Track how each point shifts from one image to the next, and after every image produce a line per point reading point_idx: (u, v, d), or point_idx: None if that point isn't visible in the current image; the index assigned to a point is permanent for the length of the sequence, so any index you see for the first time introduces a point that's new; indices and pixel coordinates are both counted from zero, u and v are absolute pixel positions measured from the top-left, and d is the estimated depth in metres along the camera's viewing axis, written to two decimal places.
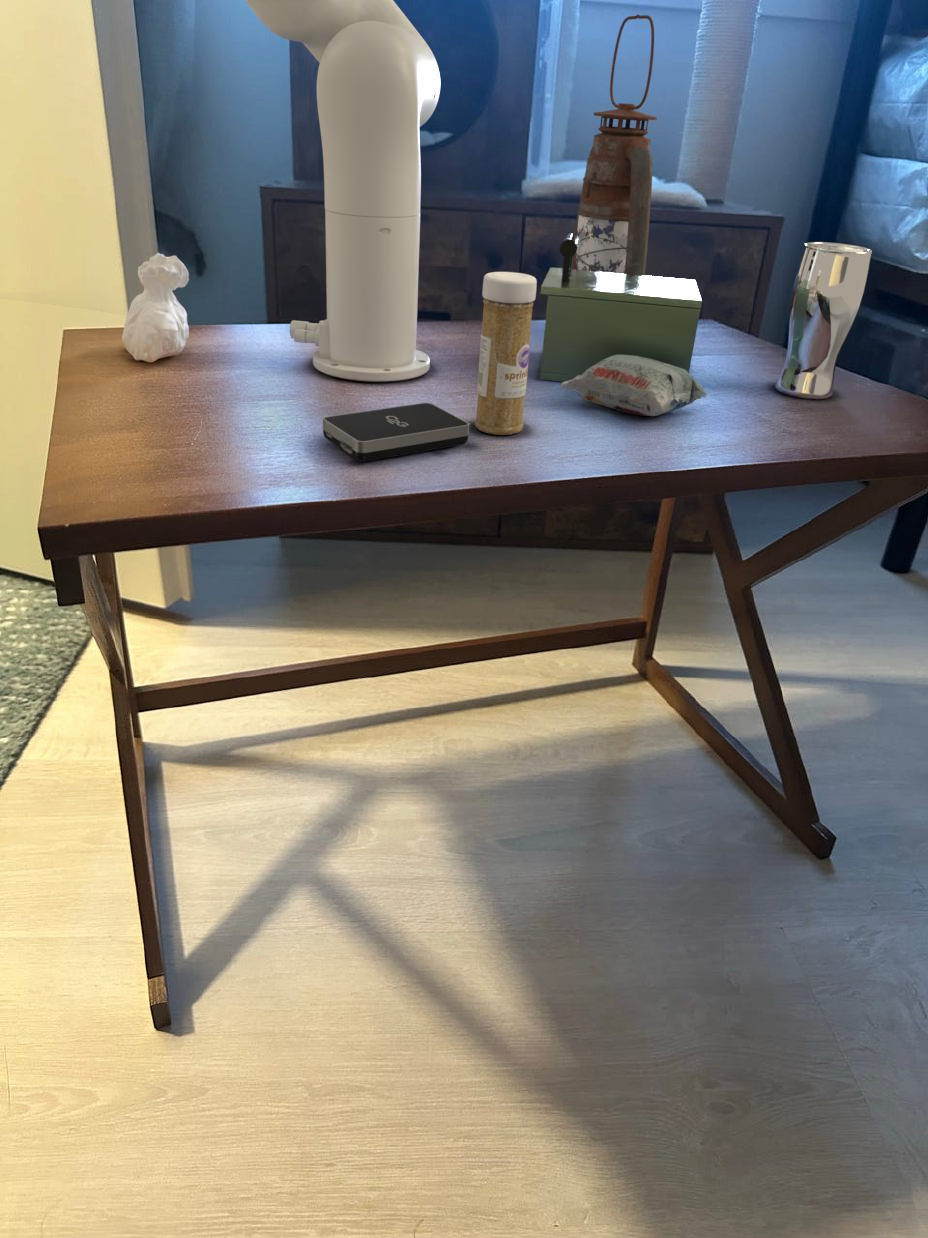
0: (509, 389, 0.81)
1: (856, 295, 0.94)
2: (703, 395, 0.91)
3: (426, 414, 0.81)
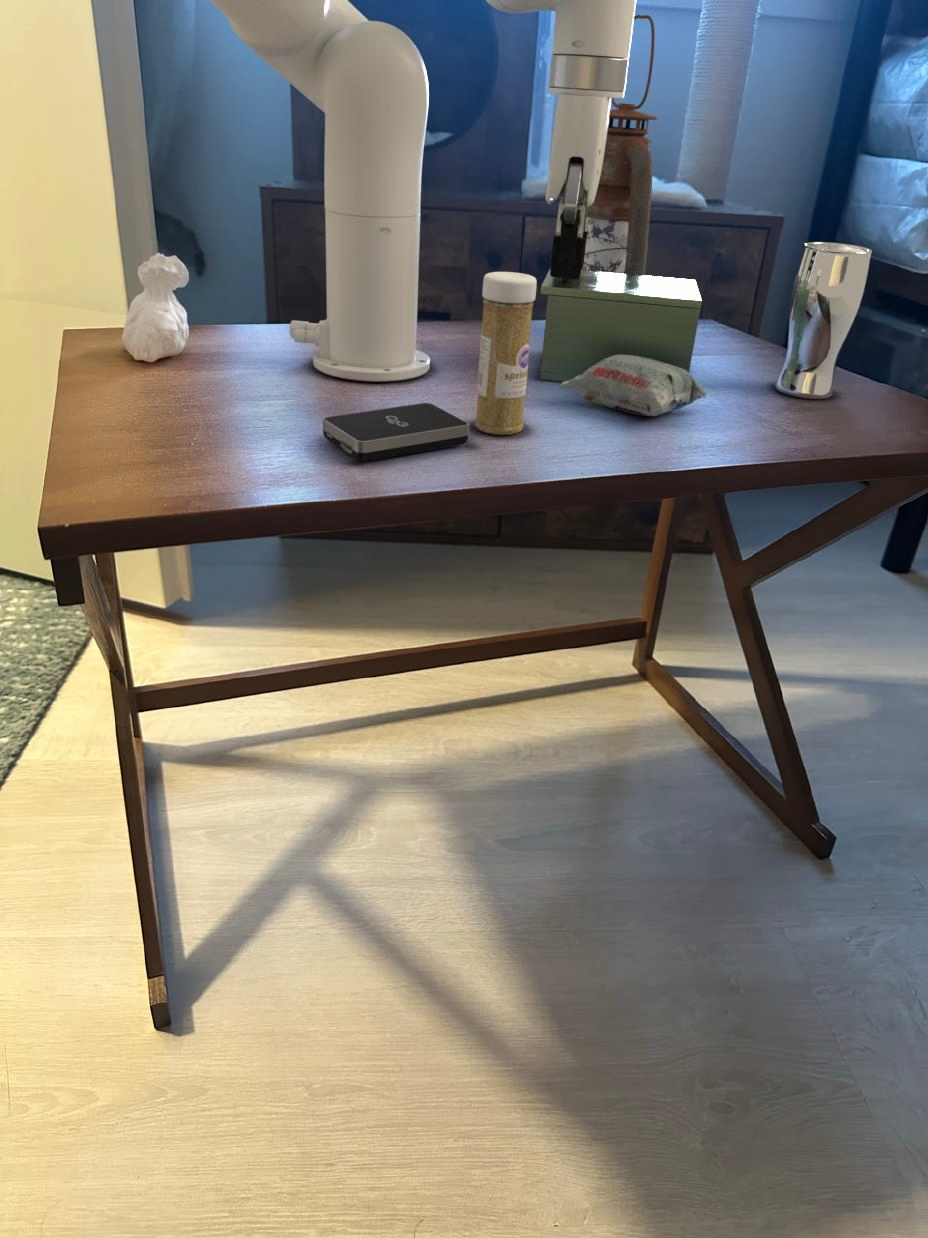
0: (509, 389, 0.81)
1: (856, 295, 0.94)
2: (703, 395, 0.91)
3: (426, 414, 0.81)
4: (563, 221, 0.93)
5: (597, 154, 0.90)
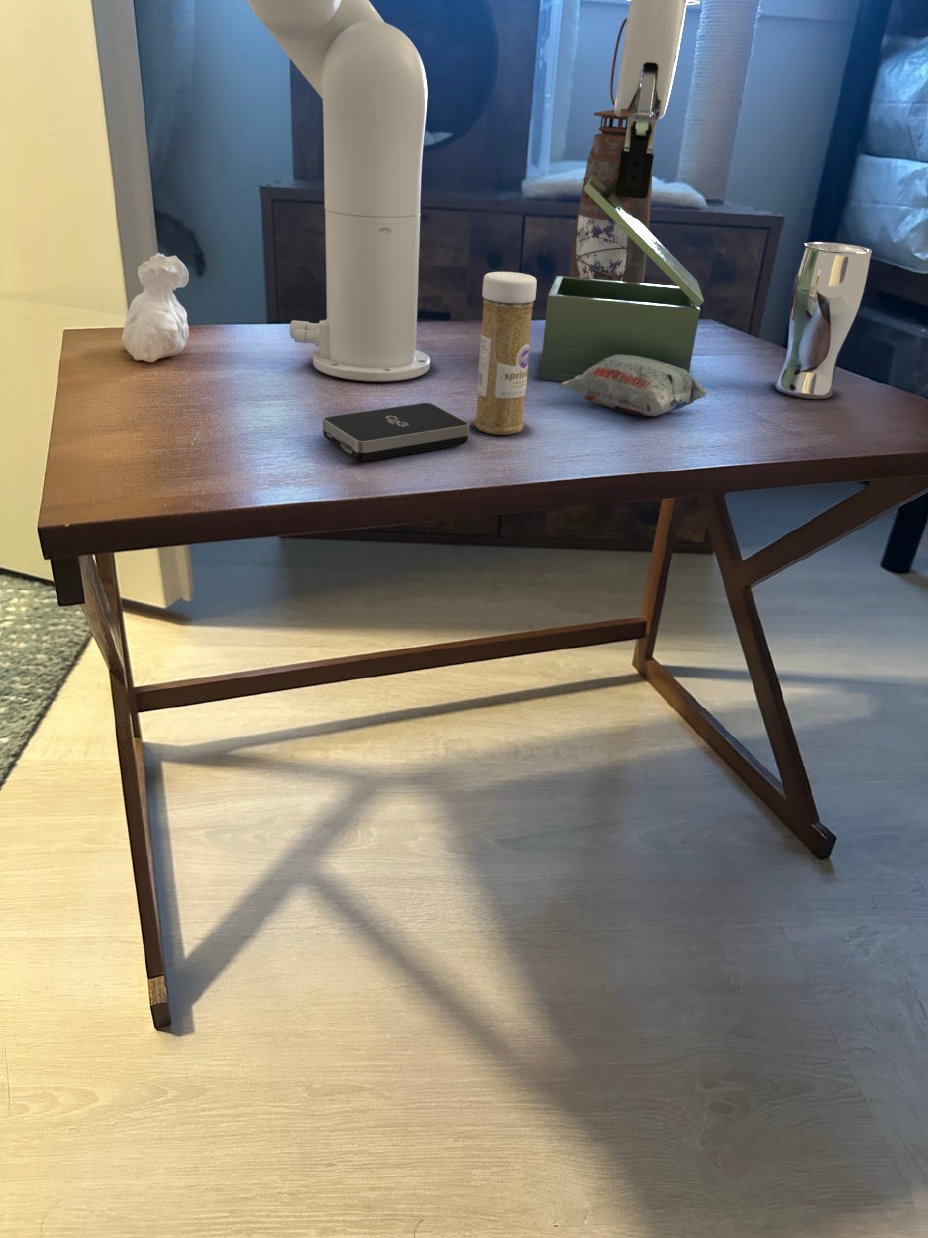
0: (509, 389, 0.81)
1: (856, 295, 0.94)
2: (703, 395, 0.91)
3: (426, 414, 0.81)
4: (634, 133, 0.88)
5: (672, 60, 0.85)
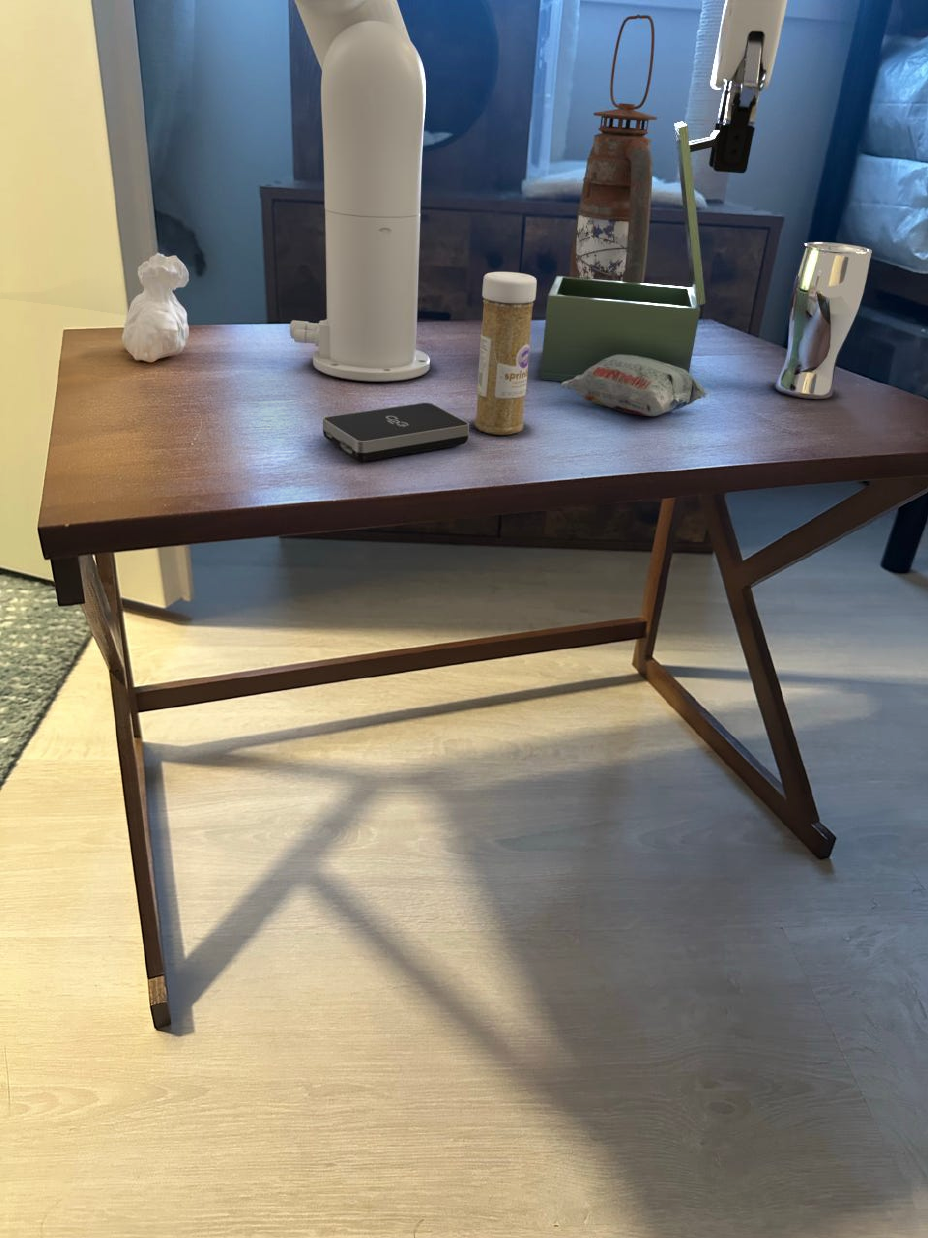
0: (509, 389, 0.81)
1: (856, 295, 0.94)
2: (703, 395, 0.91)
3: (426, 414, 0.81)
4: (737, 104, 0.85)
5: (779, 28, 0.83)
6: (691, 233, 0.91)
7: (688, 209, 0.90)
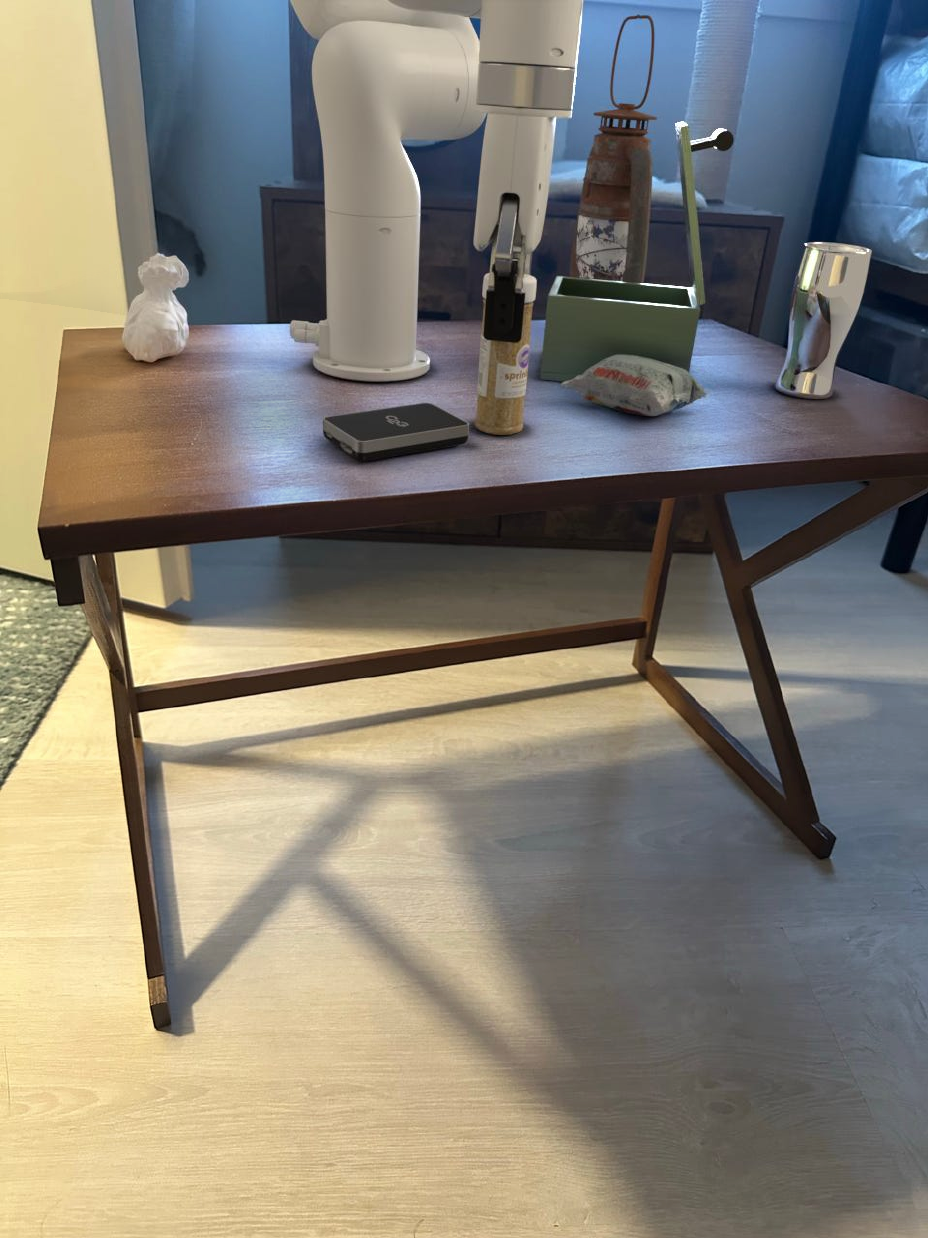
0: (509, 389, 0.81)
1: (856, 295, 0.94)
2: (703, 395, 0.91)
3: (426, 414, 0.81)
4: (496, 274, 0.73)
5: (536, 190, 0.71)
6: (691, 233, 0.91)
7: (689, 209, 0.90)
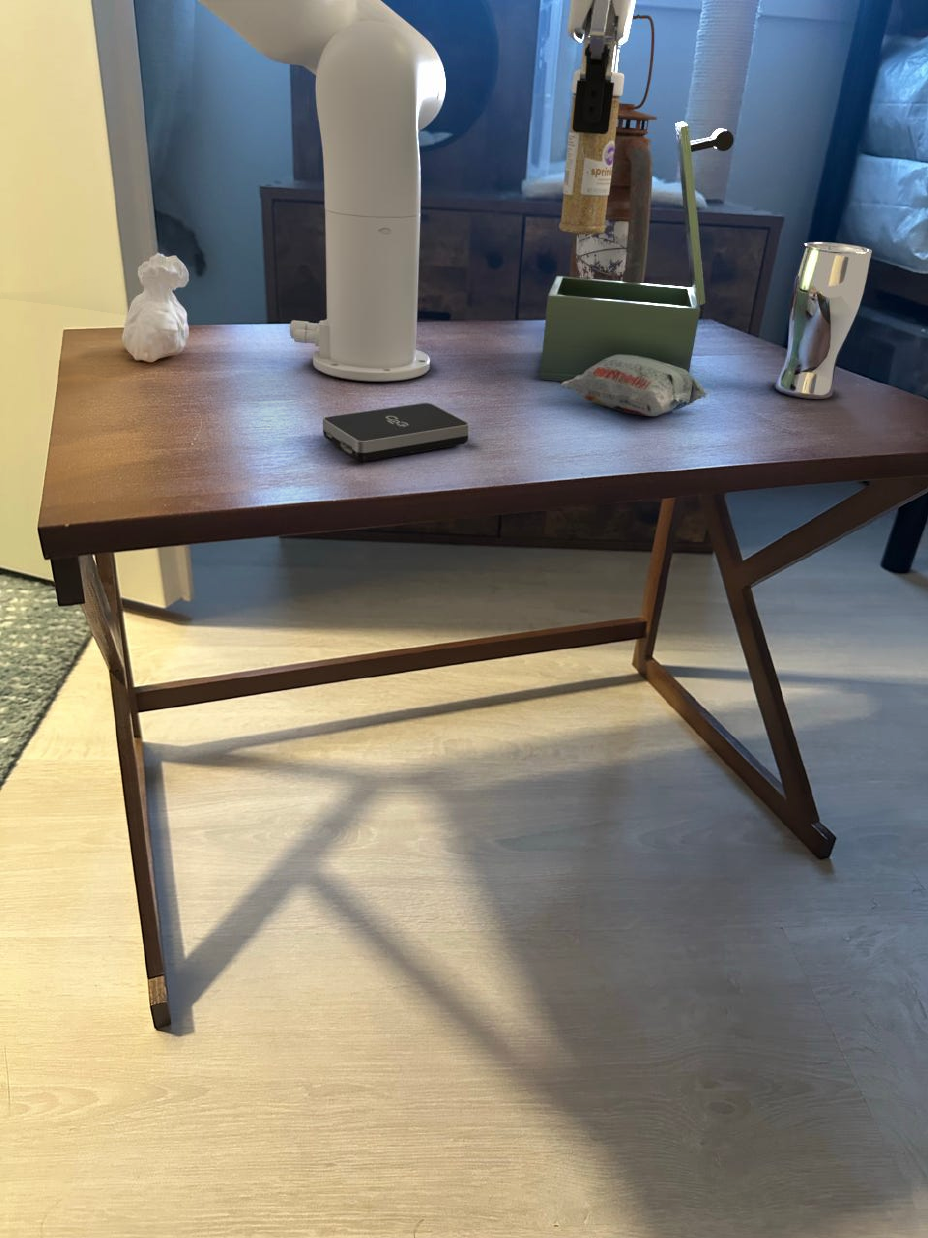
0: (594, 185, 0.85)
1: (856, 295, 0.94)
2: (703, 395, 0.91)
3: (426, 414, 0.81)
4: (588, 56, 0.78)
5: None
6: (691, 233, 0.91)
7: (689, 209, 0.90)
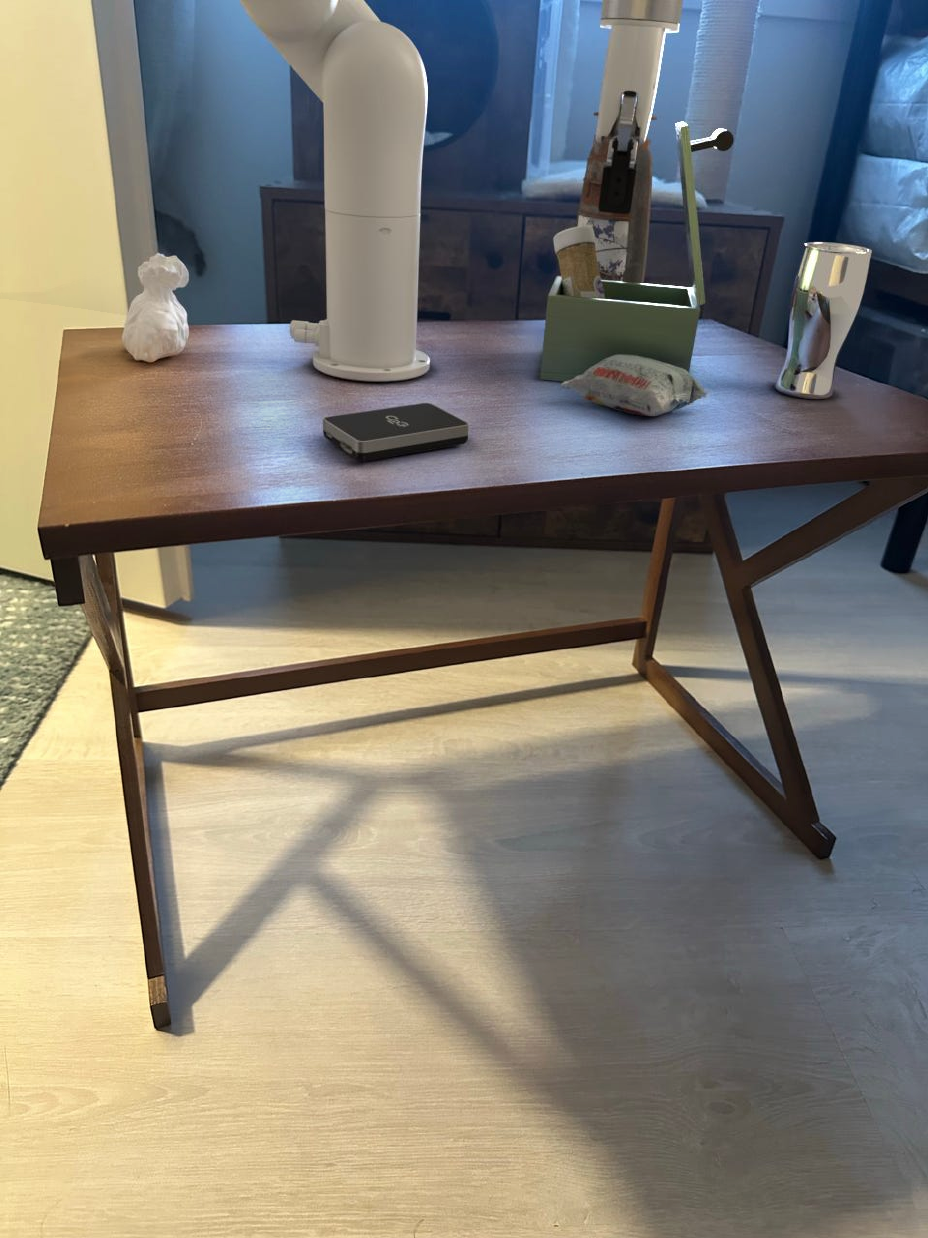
0: None
1: (856, 295, 0.94)
2: (703, 395, 0.91)
3: (426, 414, 0.81)
4: (615, 148, 0.87)
5: (651, 88, 0.87)
6: (691, 233, 0.91)
7: (689, 209, 0.90)
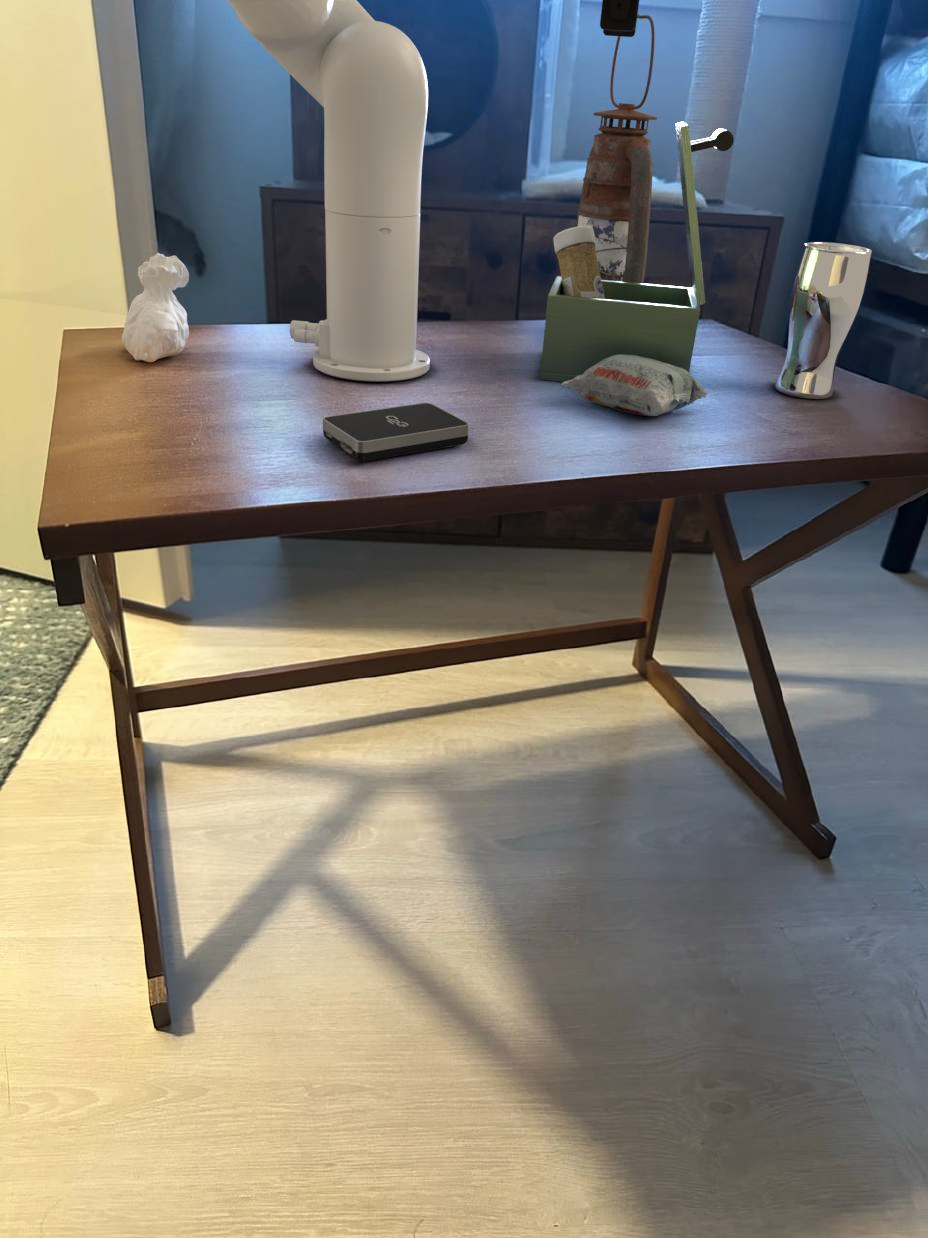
0: None
1: (856, 295, 0.94)
2: (703, 395, 0.91)
3: (426, 414, 0.81)
4: None
5: None
6: (691, 233, 0.91)
7: (689, 209, 0.90)
